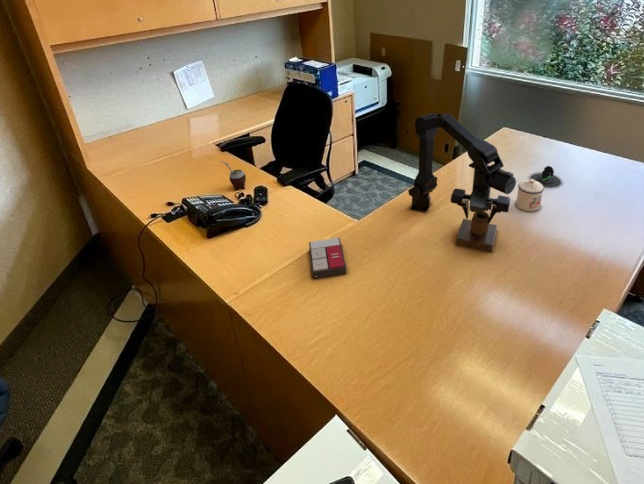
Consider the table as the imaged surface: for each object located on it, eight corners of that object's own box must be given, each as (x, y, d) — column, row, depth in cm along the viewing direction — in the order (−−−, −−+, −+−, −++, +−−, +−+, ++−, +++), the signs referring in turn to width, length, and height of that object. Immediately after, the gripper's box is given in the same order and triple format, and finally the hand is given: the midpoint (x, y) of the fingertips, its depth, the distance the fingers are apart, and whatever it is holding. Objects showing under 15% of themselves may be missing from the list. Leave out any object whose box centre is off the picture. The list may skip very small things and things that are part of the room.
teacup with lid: (531, 215, 157) (536, 188, 151) (510, 205, 163) (514, 179, 157) (549, 203, 163) (554, 177, 157) (528, 193, 169) (532, 169, 163)
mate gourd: (250, 185, 189) (244, 156, 182) (238, 193, 184) (231, 164, 176) (239, 181, 193) (232, 153, 186) (226, 189, 187) (219, 160, 180)
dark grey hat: (565, 186, 172) (571, 161, 166) (536, 188, 173) (541, 162, 167) (553, 172, 182) (558, 148, 177) (526, 173, 183) (530, 149, 177)
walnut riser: (456, 244, 145) (456, 237, 143) (462, 225, 154) (463, 218, 153) (491, 252, 140) (492, 245, 139) (496, 231, 150) (497, 224, 148)
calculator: (311, 271, 132) (308, 240, 145) (313, 280, 135) (309, 249, 147) (345, 265, 134) (339, 235, 146) (346, 275, 136) (340, 244, 148)
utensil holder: (485, 238, 142) (489, 210, 136) (467, 232, 145) (471, 205, 139) (489, 228, 146) (494, 201, 140) (472, 222, 149) (476, 195, 143)
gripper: (448, 189, 133) (445, 228, 141) (509, 199, 126) (503, 239, 134) (455, 173, 142) (452, 210, 149) (513, 181, 135) (507, 220, 142)
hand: (478, 220), depth 143 cm, fingers closed on utensil holder, 7 cm apart
